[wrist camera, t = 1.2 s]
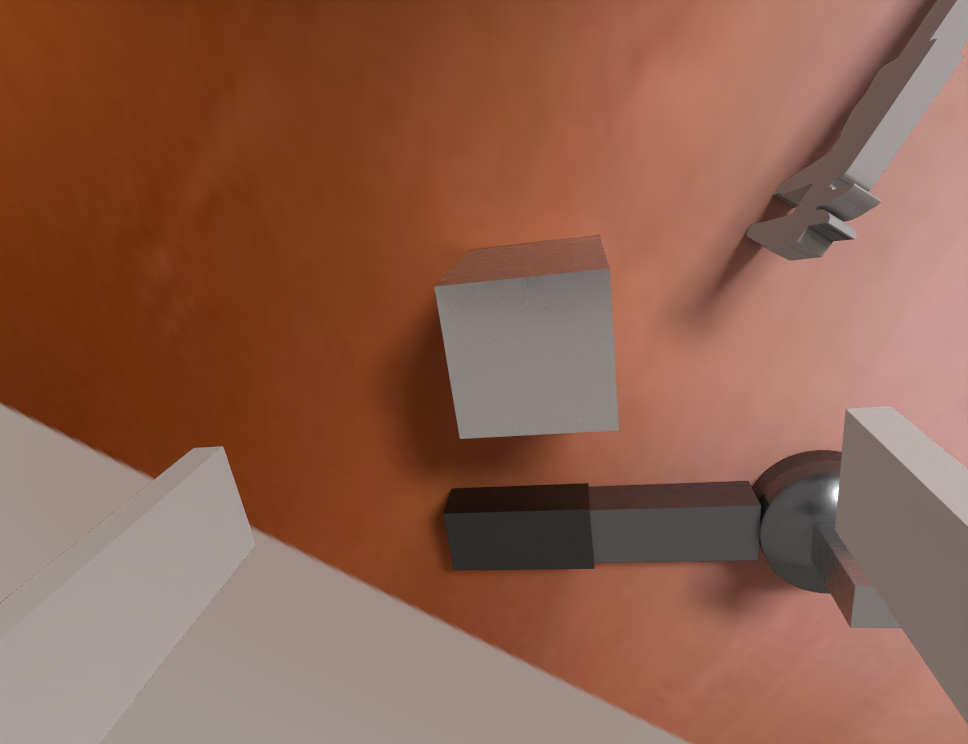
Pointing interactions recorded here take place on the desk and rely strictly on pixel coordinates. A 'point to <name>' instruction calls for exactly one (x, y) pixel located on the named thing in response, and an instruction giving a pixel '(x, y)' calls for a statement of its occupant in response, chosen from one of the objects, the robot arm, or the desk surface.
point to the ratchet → (673, 528)
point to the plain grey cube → (530, 339)
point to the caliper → (867, 141)
